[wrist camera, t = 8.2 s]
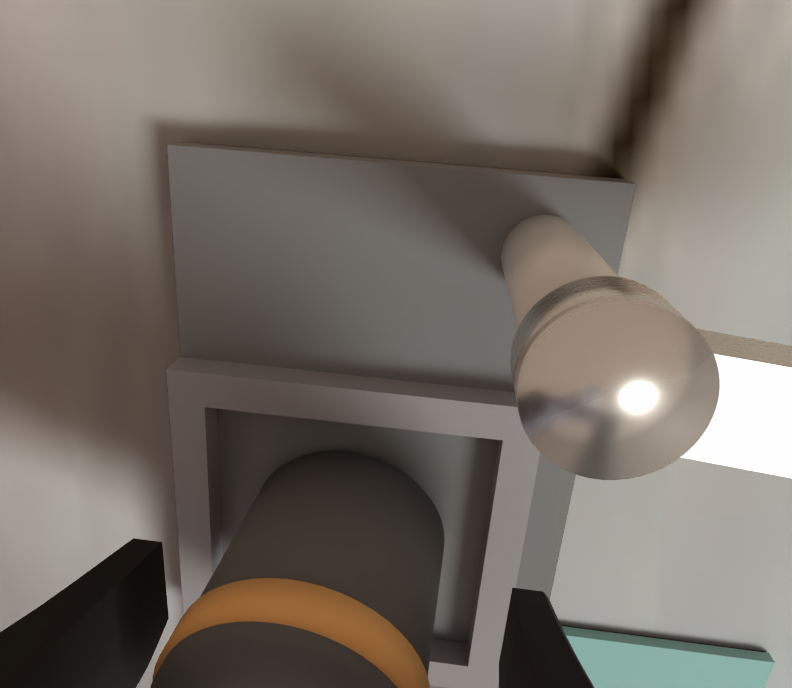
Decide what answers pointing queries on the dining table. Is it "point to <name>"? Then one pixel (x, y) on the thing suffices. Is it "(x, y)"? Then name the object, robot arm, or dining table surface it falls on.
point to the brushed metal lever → (646, 385)
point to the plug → (318, 585)
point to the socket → (377, 352)
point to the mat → (665, 662)
